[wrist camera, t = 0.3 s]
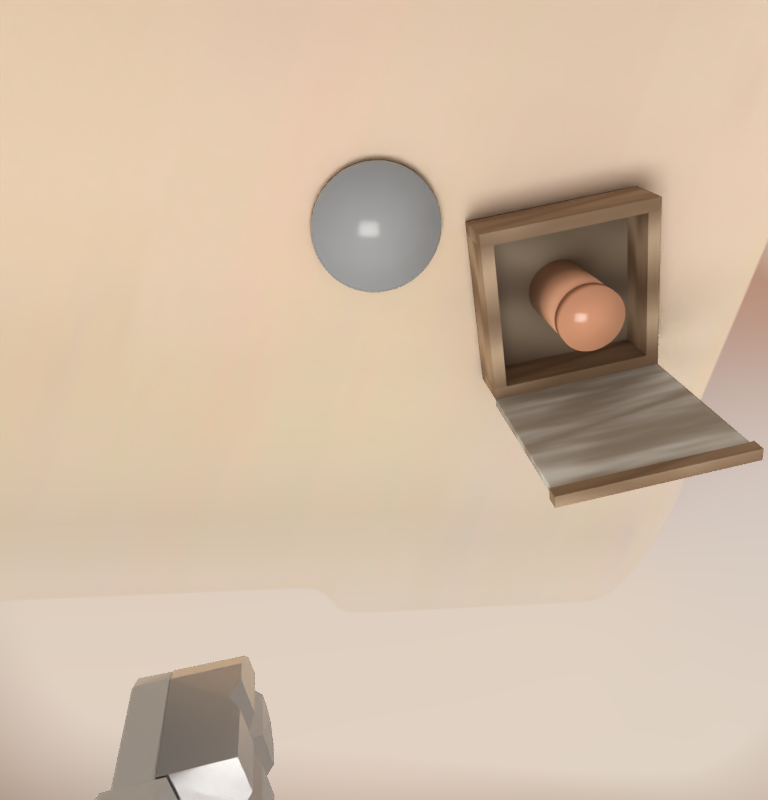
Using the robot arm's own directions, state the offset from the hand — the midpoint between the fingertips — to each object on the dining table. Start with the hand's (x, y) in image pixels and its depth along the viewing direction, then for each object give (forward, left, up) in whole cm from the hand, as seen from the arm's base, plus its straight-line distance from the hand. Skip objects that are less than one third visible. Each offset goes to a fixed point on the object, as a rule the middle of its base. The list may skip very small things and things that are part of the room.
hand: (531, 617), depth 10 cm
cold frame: (+14, +17, -47) cm, 52 cm away
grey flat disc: (+6, +3, -47) cm, 47 cm away
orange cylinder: (+14, +17, -46) cm, 51 cm away
